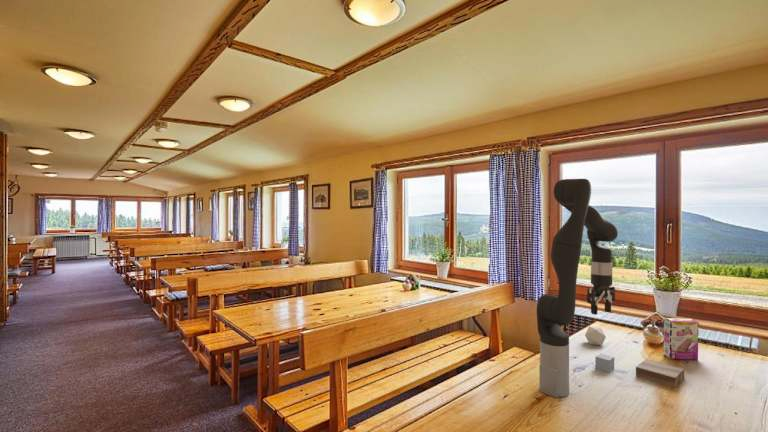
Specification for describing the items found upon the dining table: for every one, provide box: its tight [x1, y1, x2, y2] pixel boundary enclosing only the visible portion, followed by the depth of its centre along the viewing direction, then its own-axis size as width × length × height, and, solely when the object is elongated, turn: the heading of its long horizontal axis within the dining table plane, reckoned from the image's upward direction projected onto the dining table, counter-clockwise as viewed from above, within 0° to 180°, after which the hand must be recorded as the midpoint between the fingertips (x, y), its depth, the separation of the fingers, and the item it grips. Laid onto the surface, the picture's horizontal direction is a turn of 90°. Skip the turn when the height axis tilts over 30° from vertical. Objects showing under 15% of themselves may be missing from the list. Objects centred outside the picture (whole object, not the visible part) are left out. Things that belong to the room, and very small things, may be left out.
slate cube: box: [594, 353, 615, 374], centre depth 145 cm, size 5×5×5 cm
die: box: [584, 326, 607, 347], centre depth 173 cm, size 8×9×10 cm
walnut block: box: [635, 358, 685, 389], centre depth 138 cm, size 12×12×4 cm
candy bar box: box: [662, 317, 700, 361], centre depth 156 cm, size 11×5×16 cm, turn 84°
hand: (601, 313), depth 148 cm, fingers open, 8 cm apart
